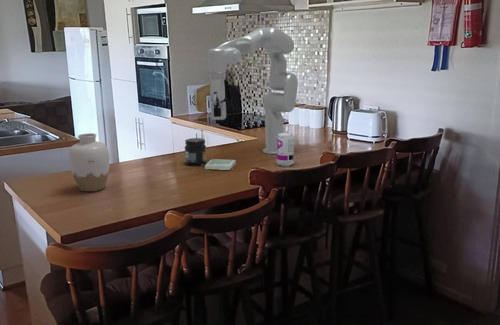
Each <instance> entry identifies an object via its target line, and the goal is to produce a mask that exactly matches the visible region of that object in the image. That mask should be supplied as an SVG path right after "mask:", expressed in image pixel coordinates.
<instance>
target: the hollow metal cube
mask: <svg viewBox="0 0 500 325" xmlns="http://www.w3.org/2000/svg"><path fill="white" fill-rule="evenodd" d="M226 106H227V104H226V101H224V102H220V108H221V116H220V117H214V108H213V102H211V103H210V108H211V109H210V110H211V111H210V112H211V120H213V121H214V120H215V121H216V120H217V121H223V120H225V119H226V118H227V107H226Z"/></svg>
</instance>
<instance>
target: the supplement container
mask: <svg viewBox="0 0 500 325" xmlns="http://www.w3.org/2000/svg"><path fill="white" fill-rule="evenodd" d="M184 142H185V146H184V154H185V155H184V157H185V158H184V159H185V164H186V165H187V164H188V166H191V165H199V166H202V165H201V164H203V165H206V164H207V163H208V161H207V146H206V144H205V143H206V140H205V138H201V137H194V138H193V137H192V138H187V139H185V141H184Z"/></svg>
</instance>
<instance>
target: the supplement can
mask: <svg viewBox="0 0 500 325" xmlns="http://www.w3.org/2000/svg"><path fill="white" fill-rule="evenodd" d="M294 144H295V137H294V134H293V133H290V132H283V133H279V134H278V136H277V154H276V164H277V166H279V165H281V166H280V167H290V165H292V164H293V165H294V163H295V162H294V161H295V159H294V158H295V156H294V155H295V154H294V152H295V150H294V149H295V148H294V147H295V145H294ZM293 165H292V166H293Z"/></svg>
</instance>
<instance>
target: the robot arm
mask: <svg viewBox="0 0 500 325" xmlns="http://www.w3.org/2000/svg"><path fill="white" fill-rule="evenodd" d="M262 47H263V49H264V51H265V53H266V54H267V55H268V58H269V60H270V69H269V74H268V75H269V76H268V77H269V78H268V88H269V89H270V90H273V91H279V92H269V93H267V94H266V95H264V97H263V100H262V102H263V103H262V104H263V108H264V116H265V117H264V118H265V120H264V121H265V122H264V123H265V148H263V149H262V152H263V153H264V154H270V155H277V136H278V134H279V133H284V117H283V114H282V113H290V112H293V110H294V109H295V107H296V101H297V96H298V95H297V94H298V88H299V87H298V86H299V81H298V77H297V75H296V74H295V73H293V72H287V66H288V64H287V59H286V57H285V55H289V54H291V53H292V52H293V51H294V49H295V42H294V40H293V38H292V36H290V35H288V34H287V33H285V32H284V31H282V30H281V29H279V28H277V27H275V26H269V27H266V26H265V27H263V26H262V27H258V28H257V29H255V30H253V31H251V32H250V33H247V34H246V35H244V36H241V37H238V38H235V39H233V40H229V41H227V42H224V43H222V44H220V45H218V46H217V47H215V48H210V49H209V50H208V53H207V54H208V55H207V56H208V76H209V81H210V84H209V87H210V88H209V93H210V94H209V95H210V96H209V100H210V102H211V103H213V108H214V117H220V116H221V108H220V102H225V101H224V100H225V98H226V89H225V87H226V86H225V80H226V79H227V72H226V70H227V69H226V65H237V63H239V62H240V61H241V59H242V55H248V54H252V53H254V52H255V51H256V50H258V49H260V48H262ZM280 91H282V92H283V93H281V92H280ZM217 100H218V101H217Z"/></svg>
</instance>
